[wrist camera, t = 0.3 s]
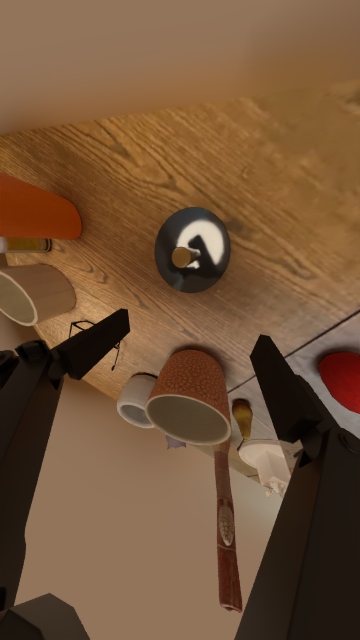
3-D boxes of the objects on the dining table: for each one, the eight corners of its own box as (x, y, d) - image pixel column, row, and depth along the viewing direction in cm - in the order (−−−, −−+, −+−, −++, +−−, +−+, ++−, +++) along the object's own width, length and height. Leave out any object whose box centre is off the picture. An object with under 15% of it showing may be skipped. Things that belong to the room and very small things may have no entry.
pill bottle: (44, 220, 29) (-48, 202, 18) (56, 253, 32) (-17, 253, 22) (22, 220, 30) (-76, 204, 20) (36, 252, 33) (-43, 252, 23)
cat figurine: (184, 397, 47) (175, 438, 37) (197, 410, 49) (193, 453, 38) (167, 402, 51) (156, 441, 40) (180, 414, 53) (172, 454, 42)
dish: (231, 456, 59) (235, 496, 50) (251, 432, 47) (260, 478, 38) (290, 476, 56) (306, 523, 46) (327, 455, 44) (360, 513, 34)
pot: (41, 252, 32) (-16, 253, 24) (83, 295, 36) (44, 308, 28) (28, 283, 38) (-22, 292, 30) (65, 317, 42) (28, 334, 33)
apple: (358, 375, 29) (428, 435, 19) (304, 376, 32) (342, 428, 22) (371, 339, 25) (466, 391, 16) (308, 344, 28) (357, 390, 19)
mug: (155, 406, 54) (145, 435, 45) (122, 383, 52) (104, 409, 43) (189, 386, 44) (183, 420, 35) (149, 357, 41) (132, 385, 33)
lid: (201, 185, 20) (193, 143, 13) (244, 263, 24) (259, 269, 16) (143, 248, 27) (114, 247, 19) (184, 303, 30) (173, 321, 22)
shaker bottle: (66, 180, 24) (-300, 4, 7) (94, 233, 27) (-108, 203, 10) (40, 205, 27) (-257, 127, 10) (68, 250, 31) (-119, 249, 13)
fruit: (242, 410, 43) (251, 460, 33) (227, 402, 43) (231, 450, 32) (254, 403, 40) (268, 455, 30) (238, 394, 40) (247, 444, 30)
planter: (231, 347, 33) (243, 411, 20) (218, 389, 41) (220, 454, 28) (167, 335, 36) (140, 384, 23) (166, 377, 44) (146, 430, 31)
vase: (224, 439, 54) (235, 613, 28) (207, 432, 54) (202, 596, 29) (235, 428, 49) (261, 630, 23) (216, 421, 49) (220, 609, 23)
